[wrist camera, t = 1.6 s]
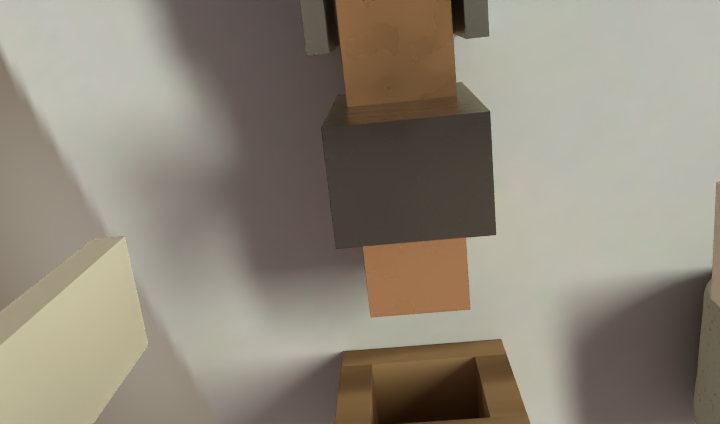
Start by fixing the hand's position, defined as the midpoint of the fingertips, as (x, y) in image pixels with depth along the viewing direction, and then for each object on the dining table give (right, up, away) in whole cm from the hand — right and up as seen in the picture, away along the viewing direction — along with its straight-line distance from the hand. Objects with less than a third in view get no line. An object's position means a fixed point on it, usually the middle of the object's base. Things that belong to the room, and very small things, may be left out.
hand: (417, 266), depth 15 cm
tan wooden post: (0, +8, +13) cm, 15 cm away
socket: (+2, -8, +20) cm, 21 cm away
